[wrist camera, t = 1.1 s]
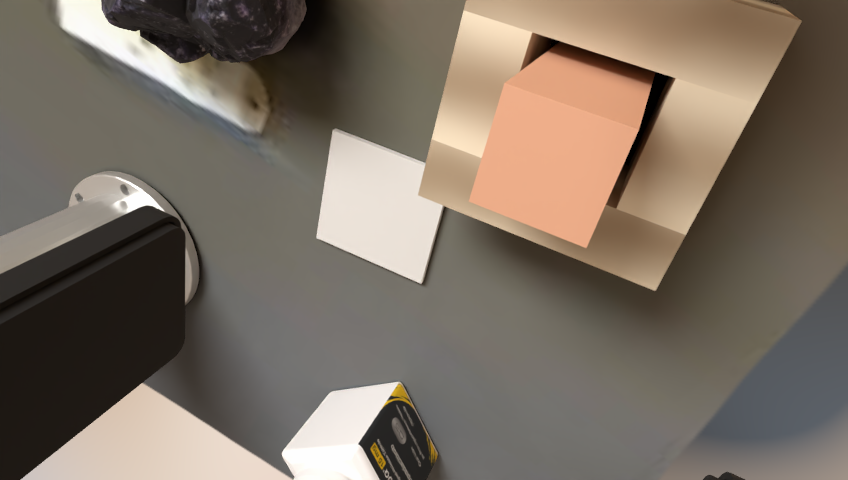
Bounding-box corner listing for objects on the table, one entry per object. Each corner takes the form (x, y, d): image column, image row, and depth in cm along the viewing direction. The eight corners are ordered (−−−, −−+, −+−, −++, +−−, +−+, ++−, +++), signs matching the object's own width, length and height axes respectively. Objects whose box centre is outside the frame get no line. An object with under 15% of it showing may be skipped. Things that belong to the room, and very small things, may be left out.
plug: (620, 149, 31) (586, 248, 21) (539, 120, 32) (468, 201, 22) (658, 64, 28) (639, 129, 18) (568, 35, 29) (504, 82, 19)
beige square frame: (661, 236, 32) (655, 290, 27) (457, 158, 34) (417, 195, 29) (780, 5, 25) (802, 21, 20) (520, -68, 28) (483, -70, 23)
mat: (423, 280, 39) (421, 283, 39) (319, 235, 41) (316, 237, 40) (453, 174, 35) (451, 176, 34) (336, 128, 37) (332, 129, 36)
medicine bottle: (441, 454, 45) (370, 598, 35) (368, 459, 49) (285, 590, 39) (402, 379, 44) (316, 507, 34) (329, 389, 47) (232, 509, 37)
